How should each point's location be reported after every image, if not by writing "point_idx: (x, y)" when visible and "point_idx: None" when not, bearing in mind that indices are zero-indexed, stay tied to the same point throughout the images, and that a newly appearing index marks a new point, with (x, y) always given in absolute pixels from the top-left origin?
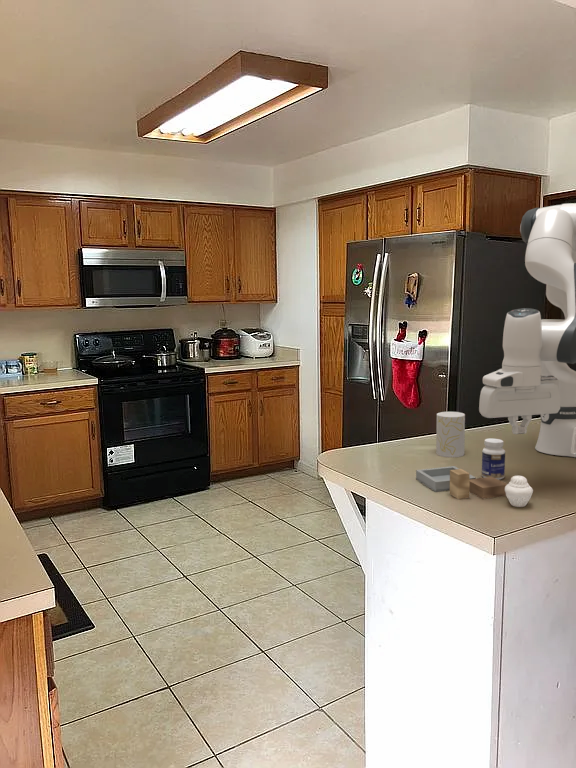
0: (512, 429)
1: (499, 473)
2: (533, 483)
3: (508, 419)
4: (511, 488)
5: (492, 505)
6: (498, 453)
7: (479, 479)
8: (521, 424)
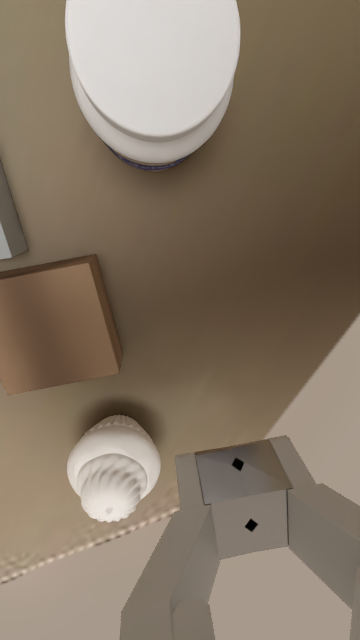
0: (178, 483)
1: (162, 169)
2: (275, 241)
3: (123, 620)
4: (78, 494)
5: (38, 428)
6: (157, 160)
7: (19, 293)
8: (297, 510)
